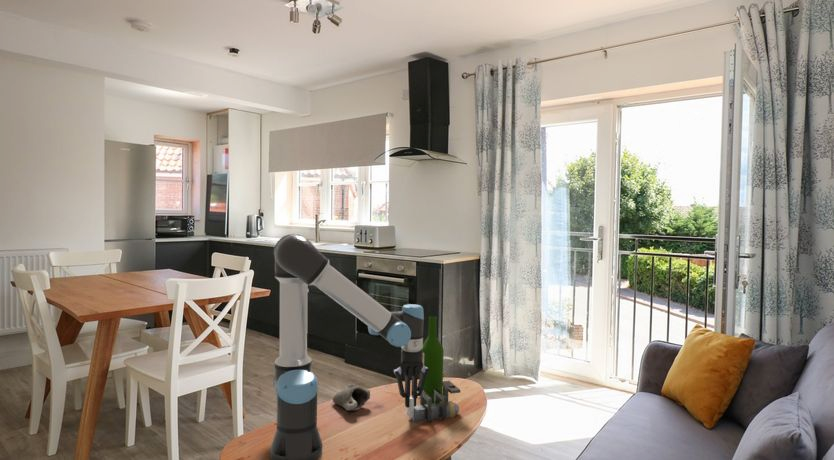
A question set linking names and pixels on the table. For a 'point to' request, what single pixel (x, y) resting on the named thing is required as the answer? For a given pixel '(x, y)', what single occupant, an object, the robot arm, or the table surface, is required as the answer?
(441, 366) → the wine bottle
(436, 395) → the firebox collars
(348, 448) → the table surface
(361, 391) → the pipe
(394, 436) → the table surface
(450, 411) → the grey sharpening stone
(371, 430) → the table surface
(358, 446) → the table surface
